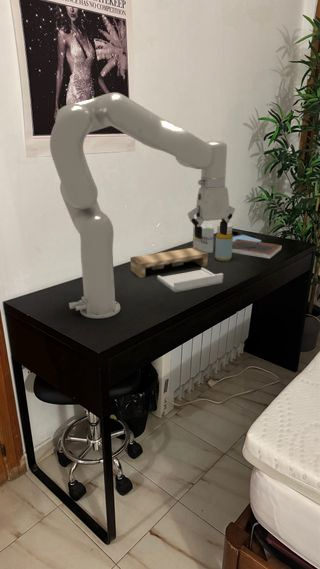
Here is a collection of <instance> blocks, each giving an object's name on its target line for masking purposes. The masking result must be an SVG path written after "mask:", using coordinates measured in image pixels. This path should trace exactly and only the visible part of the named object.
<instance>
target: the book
mask: <svg viewBox="0 0 320 569" xmlns="http://www.w3.org/2000/svg"><path fill="white" fill-rule="evenodd" d="M281 250H282V244H281V245H280V244H274V243H268V242H267V243H266V242H262V241H261V242H255V241H248V240H242V239H237V240H235V241H233V242H232V254H233V253H234V254H239V255H246V256H252V257H258V258H264V259H269V260H270V259H271V258H273V257H274V256H275V255H276V254H277V253H279V252H280V251H281Z"/></svg>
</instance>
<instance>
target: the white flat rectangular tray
mask: <svg viewBox="0 0 320 569" xmlns="http://www.w3.org/2000/svg"><path fill="white" fill-rule="evenodd" d="M156 279H157V281H158V282H160V283H161V284H163V286H165V287H167V288H168V289H169V290H171V291H172V292H174V293H179V292H185V291H189V290H194V289H199V288H206V287H209V286H210V287H211V286H215V285H218V284H223V283H224V273H222V272H220V273H213V272H211V271H210V270H208V269H206V268H205V267H200V269H199V270H197V269H196V270H193V271H187V272H183V273H177V274H171V275H170V274H169V275H165V276H161V275H159V274H158V275H157V278H156Z"/></svg>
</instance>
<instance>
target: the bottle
mask: <svg viewBox="0 0 320 569" xmlns="http://www.w3.org/2000/svg"><path fill="white" fill-rule="evenodd" d="M216 227H217V228H216V230H217V231H216V235H215V245H214V246H215V248H214V249H215V250H214V258H215V260H216V261H218V262H229V261H230V260H231V259H232V256H233V255H232V254H233V252H232V241H233V237H234V236H233V224H231V223H228V225H227V235H223V234H221V233H220V223H218V224H217V226H216Z"/></svg>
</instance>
